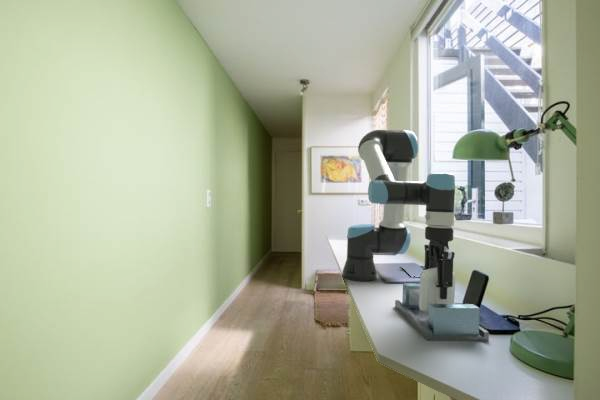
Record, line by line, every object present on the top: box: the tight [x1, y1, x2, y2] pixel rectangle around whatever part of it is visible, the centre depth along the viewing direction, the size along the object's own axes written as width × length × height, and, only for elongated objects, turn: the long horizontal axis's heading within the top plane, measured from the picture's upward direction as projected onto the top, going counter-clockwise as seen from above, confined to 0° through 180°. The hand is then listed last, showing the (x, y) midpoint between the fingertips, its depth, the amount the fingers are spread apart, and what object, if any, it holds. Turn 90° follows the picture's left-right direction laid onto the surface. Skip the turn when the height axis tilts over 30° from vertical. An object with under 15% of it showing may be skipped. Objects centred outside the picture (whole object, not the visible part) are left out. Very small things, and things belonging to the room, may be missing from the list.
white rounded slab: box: [419, 268, 456, 312], centre depth 93 cm, size 10×4×12 cm, turn 103°
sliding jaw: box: [401, 282, 420, 308], centre depth 103 cm, size 3×12×7 cm, turn 93°
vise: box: [394, 299, 490, 342], centre depth 93 cm, size 24×16×8 cm, turn 3°
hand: (436, 306), depth 93 cm, fingers closed on white rounded slab, 5 cm apart
